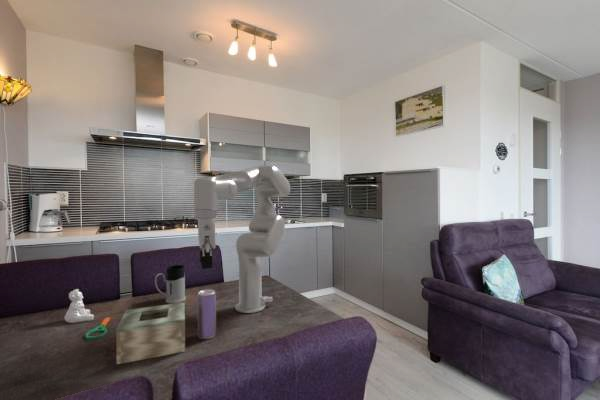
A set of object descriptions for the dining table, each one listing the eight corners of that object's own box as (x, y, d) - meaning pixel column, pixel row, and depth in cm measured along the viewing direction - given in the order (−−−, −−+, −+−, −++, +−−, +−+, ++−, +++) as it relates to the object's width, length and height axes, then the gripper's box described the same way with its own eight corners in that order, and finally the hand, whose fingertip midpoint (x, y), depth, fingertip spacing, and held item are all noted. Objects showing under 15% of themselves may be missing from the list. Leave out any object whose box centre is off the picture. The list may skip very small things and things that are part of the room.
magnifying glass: (103, 339, 97) (103, 334, 97) (82, 342, 96) (82, 337, 96) (116, 320, 112) (116, 316, 112) (98, 323, 110) (98, 318, 110)
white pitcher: (190, 298, 135) (189, 266, 135) (161, 308, 123) (160, 273, 123) (178, 295, 139) (178, 264, 139) (149, 304, 127) (149, 270, 127)
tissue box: (184, 330, 103) (184, 302, 103) (185, 351, 89) (184, 319, 89) (126, 340, 96) (126, 309, 96) (116, 364, 82) (116, 329, 82)
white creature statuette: (95, 320, 112) (94, 289, 112) (66, 327, 105) (66, 294, 105) (89, 313, 118) (88, 284, 118) (62, 320, 112) (61, 289, 112)
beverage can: (210, 340, 95) (210, 295, 95) (194, 339, 96) (193, 294, 96) (219, 332, 101) (219, 289, 101) (203, 330, 102) (203, 288, 102)
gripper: (220, 215, 91) (220, 269, 92) (214, 213, 108) (214, 259, 108) (195, 216, 89) (195, 272, 89) (193, 213, 105) (193, 260, 105)
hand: (205, 265), depth 98 cm, fingers open, 9 cm apart
